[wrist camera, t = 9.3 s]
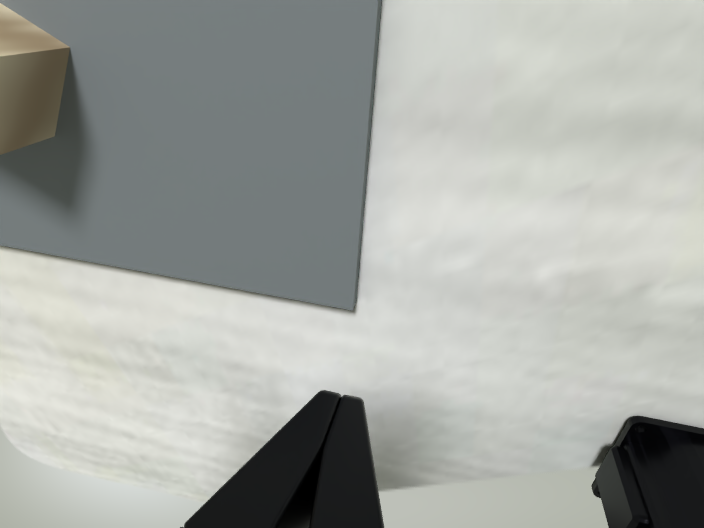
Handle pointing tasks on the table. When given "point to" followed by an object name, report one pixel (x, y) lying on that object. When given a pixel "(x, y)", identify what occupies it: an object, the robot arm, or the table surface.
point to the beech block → (28, 81)
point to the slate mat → (204, 142)
